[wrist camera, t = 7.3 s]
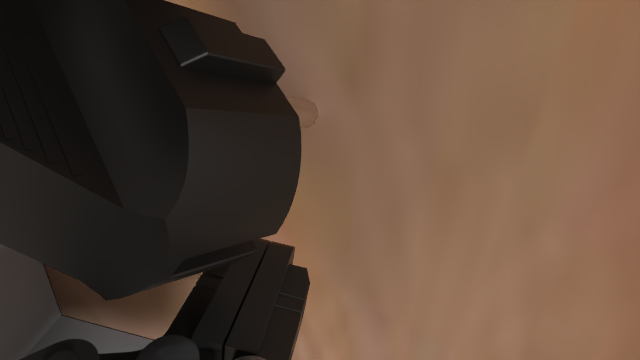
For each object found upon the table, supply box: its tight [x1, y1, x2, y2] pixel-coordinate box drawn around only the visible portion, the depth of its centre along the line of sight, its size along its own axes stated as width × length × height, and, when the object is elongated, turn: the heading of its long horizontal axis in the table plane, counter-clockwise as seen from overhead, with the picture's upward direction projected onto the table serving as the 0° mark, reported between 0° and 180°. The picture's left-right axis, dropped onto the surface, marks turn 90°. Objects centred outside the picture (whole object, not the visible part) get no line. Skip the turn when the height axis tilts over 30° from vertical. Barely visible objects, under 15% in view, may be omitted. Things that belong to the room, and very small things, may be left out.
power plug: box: [0, 0, 318, 301], centre depth 9 cm, size 6×8×12 cm
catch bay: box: [0, 244, 154, 360], centre depth 12 cm, size 21×11×4 cm, turn 171°
